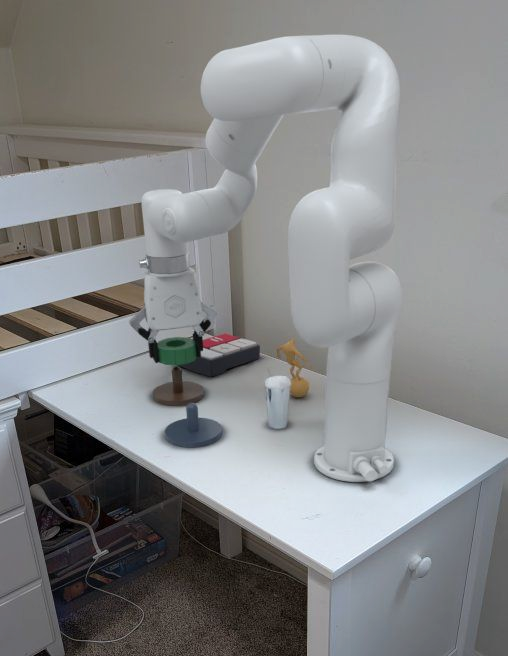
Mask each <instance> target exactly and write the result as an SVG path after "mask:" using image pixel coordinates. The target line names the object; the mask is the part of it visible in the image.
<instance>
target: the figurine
mask: <svg viewBox="0 0 508 656" xmlns="http://www.w3.org/2000/svg"><path fill="white" fill-rule="evenodd" d="M295 346H296V340H295V338H291V339H290V340H289V341H287V342H286V343H285V344H282V345H281V346H278V347H277V348H276V357H277V358H278V359H281V358H282V355H281V352H280V351H281V350H282V353H283V354H284V356H285V361H286V362H287V364H288V365H290V366H291V367H290V368H289V371H290V372H289V373H290V375H291V377H292V378H291V379H290V381H291V387H290V395H291V396H293V397H295V398H303V397H305V396H306V395H307V394H308V393H309V391H310V383H309V381H308V379H306V378H305V377H304V376H300V375H299V374H300V373H301V371H302V369H303V364H302V363H301V362H300V361H299V359H297V358H296V356H297V357H299V358H300V359H301V360H302V361H303V362H304V363H305V364H306V365H307V366H308V367H309V369H312V367H311V364H310V363H309V361H307V359H306V358H305V357H304V356H303V355H302V354H301V353H300V352H299V351H298V350H297V348H296V347H295ZM295 367H296V368H298V369H297V370H296V372H295V374H294V371H295Z"/></svg>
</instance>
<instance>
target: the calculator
mask: <svg viewBox="0 0 508 656" xmlns="http://www.w3.org/2000/svg"><path fill="white" fill-rule="evenodd" d="M260 358H261V346H260V344H258V342H256V341H253V340H250V339H245V338H240V337H239V336H235V335H232V334H229V333H221V334H218V335H214V336H211V337H208V338H204V339H203V351H201V357H197V358H196V359H195V360H194V361H193V362H190V363H187V364H182V365H177V366H178V367H180V368H184V369H186V370H188V371H189V370H190V371H192V372H194V373H197V374H201V375H204V376H206V377H210V378H212V377H215V376H219V375H222V374H224V373H225V372H226V371H227V370H228V369H231V368H234V367H237V366H240V365H243V364H244V365H245V364H247V363H249V362H252V361H256V360H259V359H260Z"/></svg>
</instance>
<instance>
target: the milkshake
mask: <svg viewBox="0 0 508 656" xmlns="http://www.w3.org/2000/svg"><path fill="white" fill-rule="evenodd" d="M267 369H268V374H269V377H268V378H266V380H265V381H264V392H265V401H266V408H267V409H266V411H267V420H268V427H269V428H271V429H275V430H283V429H284V428H286V427H287V426H288V418H289V406H290V405H289V404H290V396H291V393H290V387H291V379H290V378H288V376H287V375H275V376H273V374H272V369H271V367H270V366H268V367H267Z"/></svg>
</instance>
